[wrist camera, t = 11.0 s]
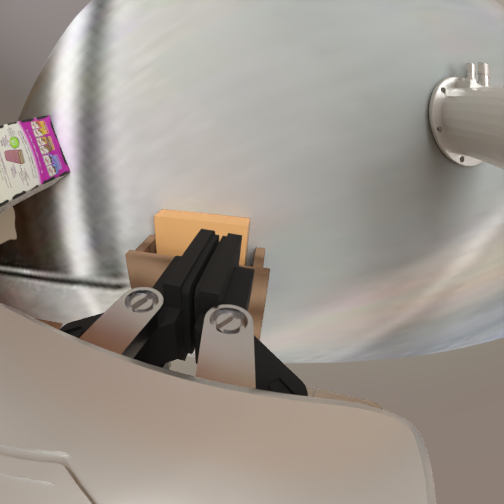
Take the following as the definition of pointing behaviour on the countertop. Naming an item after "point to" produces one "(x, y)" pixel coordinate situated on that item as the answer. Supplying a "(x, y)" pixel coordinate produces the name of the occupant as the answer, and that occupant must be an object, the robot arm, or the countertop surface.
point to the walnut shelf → (153, 265)
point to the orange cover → (195, 230)
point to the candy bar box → (28, 159)
